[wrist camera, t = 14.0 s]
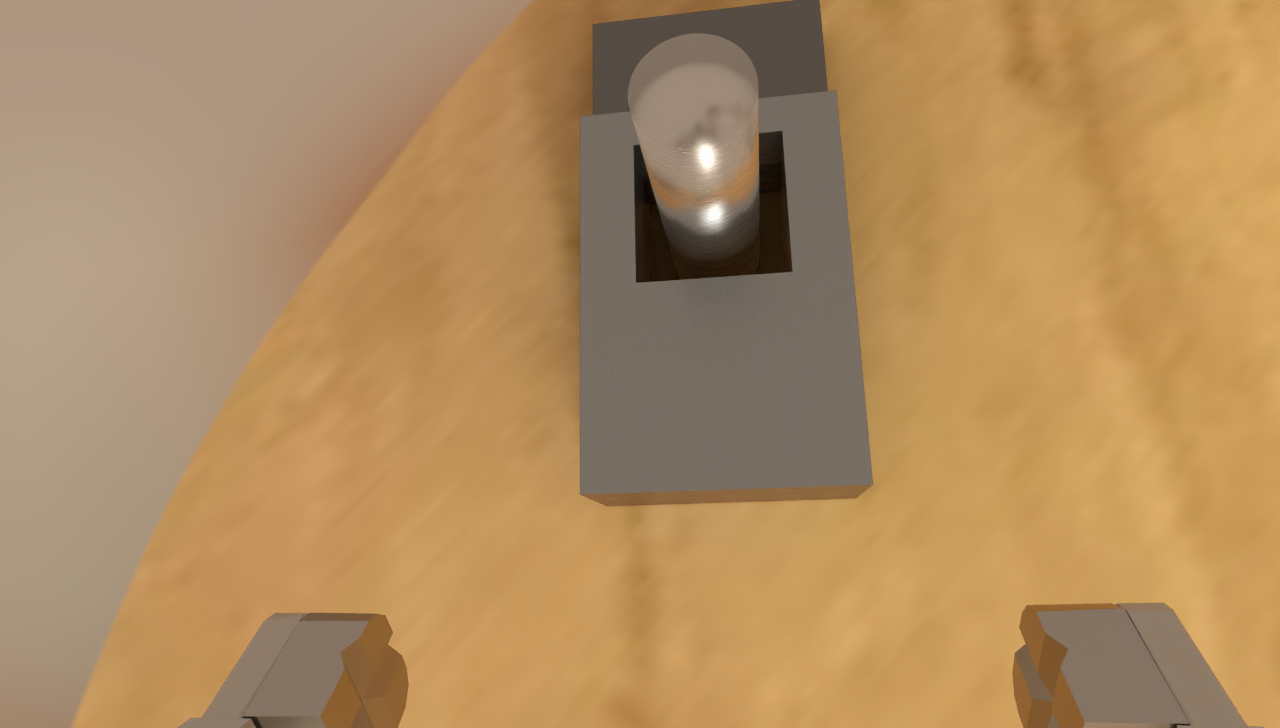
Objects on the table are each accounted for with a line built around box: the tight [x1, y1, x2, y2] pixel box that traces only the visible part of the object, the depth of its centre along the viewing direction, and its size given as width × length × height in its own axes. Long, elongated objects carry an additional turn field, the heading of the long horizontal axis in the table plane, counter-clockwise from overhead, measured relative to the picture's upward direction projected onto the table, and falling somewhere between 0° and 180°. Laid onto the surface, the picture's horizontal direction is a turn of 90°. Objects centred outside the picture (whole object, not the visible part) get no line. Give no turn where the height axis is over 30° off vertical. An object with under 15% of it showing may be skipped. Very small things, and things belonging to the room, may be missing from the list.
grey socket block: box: [580, 0, 873, 506], centre depth 26 cm, size 8×17×4 cm, turn 1°
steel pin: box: [628, 33, 760, 280], centre depth 23 cm, size 3×3×10 cm
